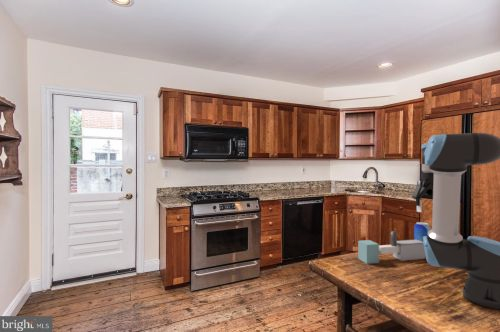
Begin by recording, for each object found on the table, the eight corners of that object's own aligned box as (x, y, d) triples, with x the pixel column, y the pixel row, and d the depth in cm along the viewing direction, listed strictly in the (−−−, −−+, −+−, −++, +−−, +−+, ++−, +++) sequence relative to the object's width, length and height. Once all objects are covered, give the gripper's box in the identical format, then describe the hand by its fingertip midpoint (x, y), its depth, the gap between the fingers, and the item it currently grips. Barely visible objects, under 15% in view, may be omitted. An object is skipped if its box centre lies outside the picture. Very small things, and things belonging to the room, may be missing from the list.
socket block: (378, 262, 145) (378, 244, 144) (366, 263, 143) (366, 244, 143) (369, 257, 152) (369, 240, 152) (358, 258, 151) (358, 240, 151)
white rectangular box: (425, 258, 150) (425, 242, 150) (401, 260, 148) (401, 244, 148) (416, 254, 157) (415, 239, 157) (393, 256, 154) (392, 240, 154)
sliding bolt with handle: (420, 251, 151) (420, 231, 151) (381, 254, 147) (381, 233, 147) (415, 249, 155) (415, 229, 155) (377, 252, 151) (376, 231, 151)
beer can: (411, 248, 168) (411, 222, 168) (420, 246, 172) (419, 221, 172) (425, 252, 161) (424, 225, 160) (433, 250, 164) (433, 223, 164)
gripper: (443, 171, 153) (443, 209, 153) (404, 172, 148) (404, 211, 148) (455, 171, 145) (456, 211, 145) (415, 172, 140) (415, 213, 141)
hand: (430, 211), depth 147 cm, fingers open, 13 cm apart
